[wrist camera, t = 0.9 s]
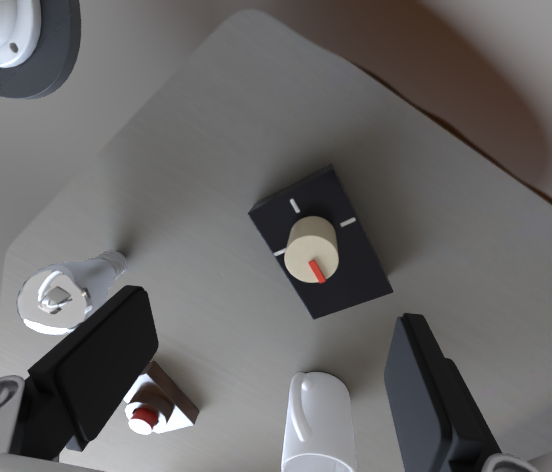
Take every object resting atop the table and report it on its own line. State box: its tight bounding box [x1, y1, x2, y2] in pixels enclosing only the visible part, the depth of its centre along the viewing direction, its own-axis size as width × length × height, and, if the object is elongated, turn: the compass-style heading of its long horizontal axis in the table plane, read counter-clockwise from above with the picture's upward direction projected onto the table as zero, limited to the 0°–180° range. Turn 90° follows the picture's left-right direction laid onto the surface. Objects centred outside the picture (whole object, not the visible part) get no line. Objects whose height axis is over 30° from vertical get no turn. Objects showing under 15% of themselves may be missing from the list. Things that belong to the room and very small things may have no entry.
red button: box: [129, 407, 158, 435], centre depth 41 cm, size 4×4×2 cm
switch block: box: [124, 361, 199, 433], centre depth 43 cm, size 12×8×4 cm, turn 30°
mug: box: [281, 372, 357, 472], centre depth 34 cm, size 12×8×10 cm
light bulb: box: [17, 251, 127, 335], centre depth 29 cm, size 7×7×12 cm
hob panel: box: [248, 163, 393, 319], centre depth 28 cm, size 14×9×3 cm, turn 30°
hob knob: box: [284, 216, 339, 283], centre depth 24 cm, size 4×4×5 cm
